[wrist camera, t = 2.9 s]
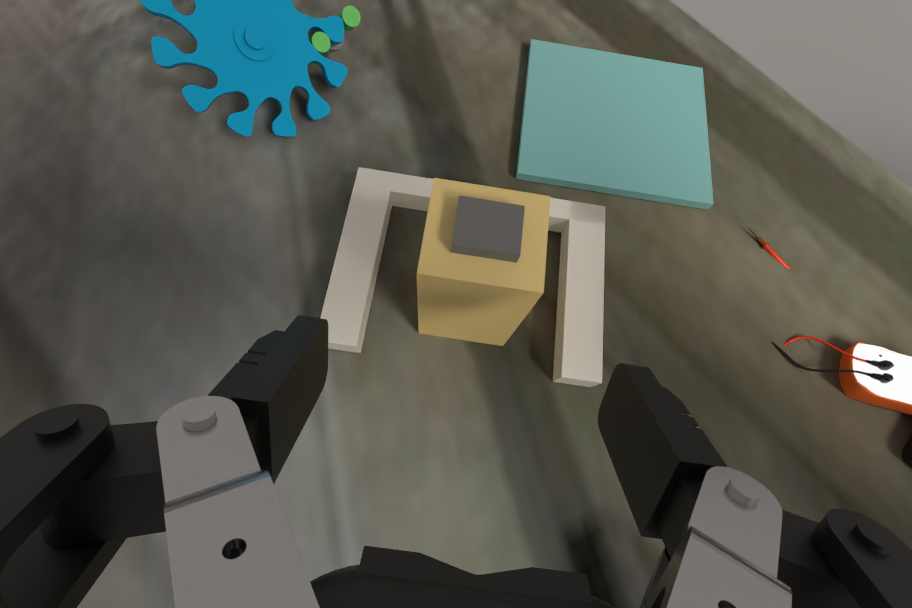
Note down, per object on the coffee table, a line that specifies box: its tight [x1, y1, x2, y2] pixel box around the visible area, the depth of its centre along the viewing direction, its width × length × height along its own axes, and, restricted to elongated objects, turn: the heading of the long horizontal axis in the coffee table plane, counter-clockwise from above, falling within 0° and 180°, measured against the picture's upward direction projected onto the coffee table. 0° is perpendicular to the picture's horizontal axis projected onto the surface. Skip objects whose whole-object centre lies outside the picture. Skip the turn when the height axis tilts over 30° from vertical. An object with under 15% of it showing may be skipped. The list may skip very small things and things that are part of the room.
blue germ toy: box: [140, 0, 360, 137], centre depth 25 cm, size 11×6×10 cm
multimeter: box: [748, 227, 912, 467], centre depth 22 cm, size 18×12×3 cm, turn 43°
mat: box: [516, 39, 713, 209], centre depth 28 cm, size 12×11×1 cm
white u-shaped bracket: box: [320, 167, 605, 387], centre depth 23 cm, size 14×10×2 cm
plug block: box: [417, 178, 550, 346], centre depth 19 cm, size 4×4×9 cm
